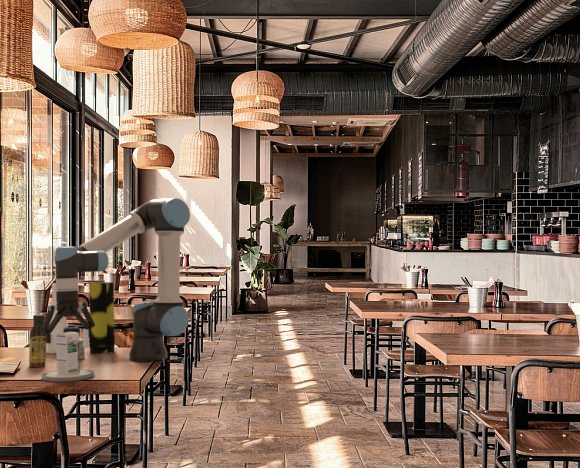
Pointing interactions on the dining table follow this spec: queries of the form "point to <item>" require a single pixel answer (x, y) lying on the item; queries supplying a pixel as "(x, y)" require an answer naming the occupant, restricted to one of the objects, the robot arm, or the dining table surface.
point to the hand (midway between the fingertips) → (68, 350)
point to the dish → (67, 376)
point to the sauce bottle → (37, 343)
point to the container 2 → (102, 317)
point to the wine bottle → (61, 323)
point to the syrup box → (67, 353)
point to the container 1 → (81, 348)
